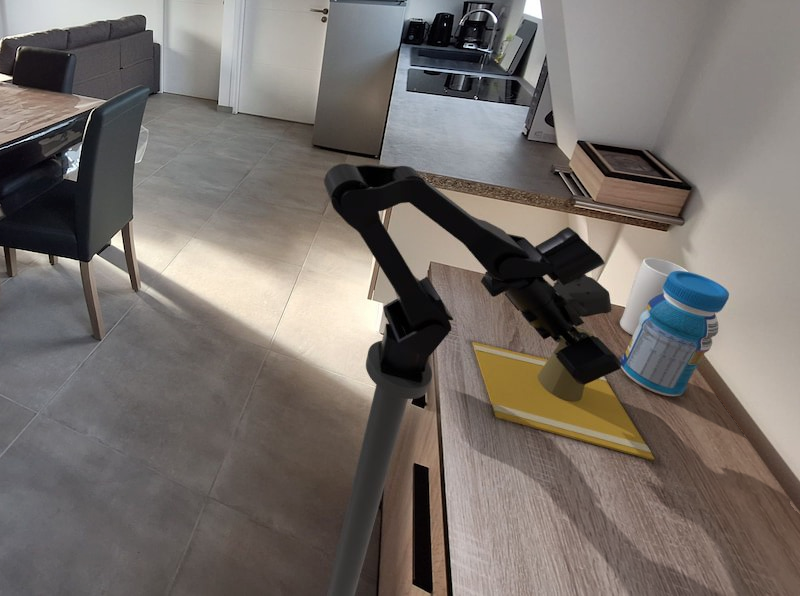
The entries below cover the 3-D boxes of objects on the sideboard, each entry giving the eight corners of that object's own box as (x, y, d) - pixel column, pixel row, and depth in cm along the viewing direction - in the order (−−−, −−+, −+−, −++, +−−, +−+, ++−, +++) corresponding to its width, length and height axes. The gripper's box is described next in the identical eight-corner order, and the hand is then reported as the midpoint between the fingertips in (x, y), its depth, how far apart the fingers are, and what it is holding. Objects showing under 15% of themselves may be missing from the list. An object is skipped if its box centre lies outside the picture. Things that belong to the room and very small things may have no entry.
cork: (556, 368, 79) (577, 318, 75) (591, 398, 74) (616, 345, 70) (528, 374, 78) (549, 323, 74) (562, 404, 72) (587, 351, 68)
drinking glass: (649, 349, 85) (682, 283, 79) (606, 324, 90) (635, 261, 85) (667, 338, 87) (700, 274, 82) (624, 315, 93) (653, 254, 88)
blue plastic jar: (631, 389, 76) (680, 292, 69) (609, 352, 83) (651, 261, 76) (695, 406, 73) (754, 307, 66) (666, 367, 81) (716, 274, 74)
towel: (495, 417, 70) (496, 414, 70) (472, 343, 84) (472, 341, 84) (653, 460, 64) (655, 458, 64) (600, 373, 79) (601, 371, 79)
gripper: (633, 310, 59) (687, 382, 62) (544, 233, 76) (589, 293, 79) (550, 350, 62) (605, 417, 65) (483, 268, 79) (529, 324, 83)
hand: (581, 356), depth 73 cm, fingers closed on cork, 5 cm apart
